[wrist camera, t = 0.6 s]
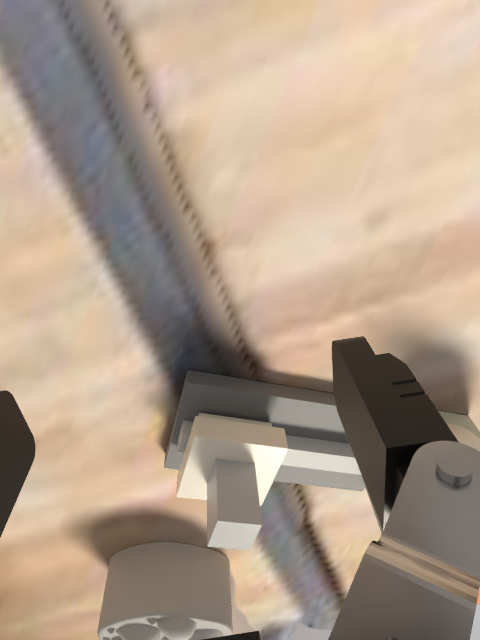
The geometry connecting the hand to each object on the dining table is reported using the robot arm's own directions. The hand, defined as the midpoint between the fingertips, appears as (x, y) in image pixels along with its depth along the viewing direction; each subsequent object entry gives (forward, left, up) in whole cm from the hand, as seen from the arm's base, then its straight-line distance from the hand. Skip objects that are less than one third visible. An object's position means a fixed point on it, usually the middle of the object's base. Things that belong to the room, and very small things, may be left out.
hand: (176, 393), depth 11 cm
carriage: (+20, +7, -17) cm, 27 cm away
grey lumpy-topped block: (+44, +6, -19) cm, 48 cm away
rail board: (+20, +12, -19) cm, 30 cm away
